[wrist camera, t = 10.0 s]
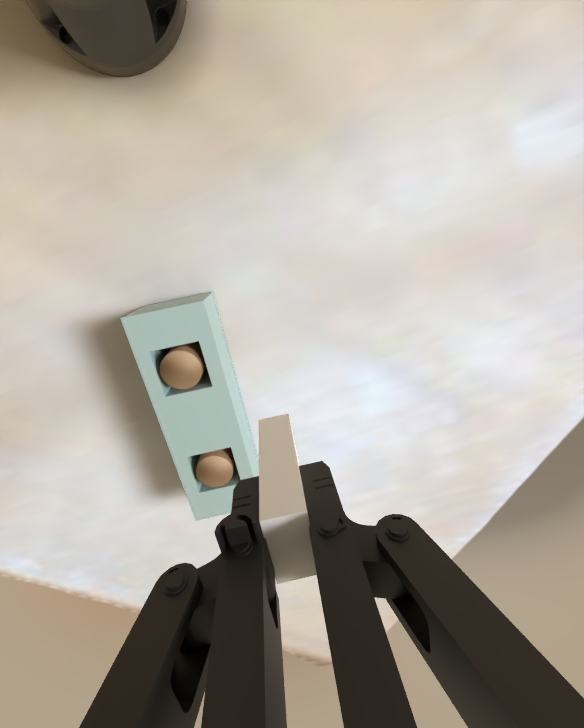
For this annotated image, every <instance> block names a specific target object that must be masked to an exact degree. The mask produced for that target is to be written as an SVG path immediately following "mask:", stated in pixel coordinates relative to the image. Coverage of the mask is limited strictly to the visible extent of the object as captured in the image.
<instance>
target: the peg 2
mask: <svg viewBox="0 0 584 728" xmlns="http://www.w3.org/2000/svg"><path fill="white" fill-rule="evenodd" d="M233 467H234V456H233V453H232V449H231V447H229V448H225V449H221V450H216V451H212V452H207V453H203V454H200V457H199V460H198V464H197V468H196V475H197V478H198V480H199V481H200V482H201V483H203V484H204V485H206V486H210V487H219V486H222V485H225V484H226V483H228V482H229V481H230V479H231V478H232V475H233Z"/></svg>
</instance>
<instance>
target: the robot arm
mask: <svg viewBox="0 0 584 728" xmlns="http://www.w3.org/2000/svg"><path fill="white" fill-rule="evenodd" d="M26 2H27V4H28V5H29V7H30V9H31V10H32V12H33V13H34V15H35V16H36V18H37V19H38V21H39V22H40V23H41V25H42V26H43V27H44V28H45V30H46V31H47V32H48V33H49V34H50V35H51V36H52V37H53V38H54V39H55V40H56V42H57V43H58V44H59V45H60V46H61V47H62V48H63V49H64V50H65V51H66V52H68V53H69V54H70V55H71V56H72V57H74V58H75V59H76V60H78V61H79V62H81V63H82V64H84V65H86V66H87V67H89V68H91V69H93V70H96V71H98V72H101V73H104V74H108V75H114V76H132V75H137V74H140V73H143V72H146V71H148V70H150V69H152V68H154V67H155V66H156V65H158V64H159V63H160V62H161V61H163V60H164V59H165V58H166V57H167V55H168V54H169V53H170V52H171V50H172V49H173V47H174V45H175V44H176V42H177V40H178V38H179V35H180V33H181V30H182V27H183V23H184V18H185V12H186V0H26ZM232 500H233V501H232V509H231V515H228V516H227V517H226V518H224V519H223V520H222V521H221V522H220V523H219V524H218V525H217V527H216V530H215V536H216V538H217V541H218V544H219V547H220V550H221V554H220V555H219V556H218V557H217V558H215V559H214V560H212V561H211V562H209V563H207V564H205V565H204V566H202V567H200V568H198V569H196V568H195V567H194V566H193V565H192V564H188V563H182V564H177V565H175V566H173V567H171V568H169V569H168V570H167V571H166V572H165V573H163V574H162V575H161V576H160V578H159V579H158V581H157V582H156V584H155V585H154V587H153V589H152V591H151V593H150V595H149V597H148V599H147V601H146V602H145V604H144V606H143V608H142V610H141V612H140V614H139V616H138V618H137V620H136V621H135V623H134V625H133V627H132V629H131V631H130V633H129V635H128V636H127V638H126V640H125V643H124V644H123V646H122V648H121V650H120V652H119V654H118V655H117V657H116V659H115V661H114V663H113V665H112V667H111V669H110V671H109V672H108V674H107V676H106V678H105V680H104V682H103V684H102V686H101V687H100V689H99V691H98V693H97V695H96V697H95V699H94V701H93V703H92V705H91V707H90V708H89V710H88V712H87V714H86V716H85V718H84V720H83V721H82V723H81V725H80V727H79V728H194V725H195V722H196V719H197V715H198V712H199V708H200V705H201V702H202V698H203V695H204V692H205V699H204V707H203V717H202V725H201V728H287V723H286V707H285V691H284V675H283V659H282V643H281V627H280V611H279V599H278V596H277V592H276V587H275V578H276V581H277V584H278V583H283V582H287V581H291V580H296V579H300V578H304V577H309V576H313V575H317V578H318V584H319V590H320V595H321V601H322V606H323V612H324V618H325V623H326V629H327V634H328V640H329V646H330V651H331V657H332V662H333V668H334V674H335V679H336V684H337V690H338V696H339V702H340V707H341V713H342V718H343V723H344V728H417V726H416V723H415V720H414V717H413V714H412V711H411V708H410V705H409V702H408V698H407V695H406V692H405V690H404V686H403V683H402V680H401V677H400V674H399V671H398V668H397V665H396V662H395V659H394V656H393V653H392V650H391V647H390V644H389V641H388V638H387V635H386V632H385V629H384V626H383V623H382V620H381V617H380V614H379V611H378V608H377V605H376V602H375V599H374V597H377V598H386V600H387V602H388V603H389V605H390V607H391V608H392V610H393V611H394V613H395V614H396V616H397V617H398V619H399V621H400V622H401V623H402V625H403V627H404V628H405V630H406V631H407V633H408V635H409V636H410V638H411V639H412V641H413V642H414V644H415V645H416V647H417V649H418V650H419V651H420V653H421V655H422V656H423V658H424V659H425V661H426V662H427V664H428V665H429V667H430V669H431V670H432V672H433V673H434V675H435V676H436V678H437V680H438V681H439V683H440V684H441V686H442V687H443V689H444V691H445V692H446V694H447V695H448V697H449V698H450V700H451V701H452V703H453V705H454V706H455V708H456V709H457V711H458V712H459V714H460V715H461V717H462V719H463V720H464V722H465V723H466V725H467V726H468V728H584V698H583V697H582V696H581V695H580V694H579V693H578V692H577V691H576V690H575V689H574V688H573V687H572V686H571V685H570V684H569V683H568V681H567V680H566V679H565V678H564V677H563V676H562V675H561V674H560V673H559V672H558V671H557V670H556V669H555V668H554V667H553V666H552V665H551V664H550V663H549V661H547V659H546V658H545V657H544V656H543V655H542V654H541V653H540V652H539V651H538V650H537V649H536V648H535V647H534V646H533V645H532V644H531V643H530V642H529V640H528V639H527V638H526V637H525V636H524V635H523V634H522V633H521V632H520V631H519V630H518V629H517V628H516V627H515V626H514V625H513V624H512V623H511V622H510V621H509V619H508V618H506V617H505V615H504V614H503V613H502V612H501V611H500V610H499V609H498V608H497V607H496V606H495V605H494V604H493V603H492V602H491V601H490V600H489V599H488V597H486V595H485V594H484V593H483V592H482V591H481V590H480V589H479V588H478V587H477V586H476V585H475V584H474V583H473V582H472V581H471V580H470V579H469V577H468V576H467V575H465V573H464V572H462V570H461V569H460V568H459V567H458V566H457V565H456V564H455V563H454V562H453V561H452V560H451V559H450V558H449V556H448V555H447V554H446V553H445V552H444V551H443V550H442V549H441V548H440V547H439V546H438V545H437V544H436V543H435V542H434V541H433V540H432V539H431V538H430V537H429V535H428V534H427V533H426V532H425V531H424V530H423V529H422V528H421V527H420V526H419V525H418V524H417V523H416V522H415V521H414V520H412V519H411V518H409V517H407V516H404V515H400V514H391V515H388V516H385V517H383V518H382V519H380V520H379V521H378V523H377V525H376V526H367V525H360V524H357V523H355V522H353V521H351V520H350V519H349V518H348V517H347V516H346V515H345V513H344V511H343V508H342V505H341V502H340V499H339V496H338V493H337V490H336V486H335V483H334V480H333V478H332V474H331V471H330V468H329V467H328V466H327V465H326V464H325V463H324V462H323V461H320V462H315V463H311V464H306V465H302V466H300V465H299V460H298V455H297V451H296V446H295V442H294V437H293V432H292V428H291V423H290V419H289V414H285V415H280V416H276V417H271V418H267V419H262V420H259V476H256V477H252V478H247V479H243V480H239V481H238V483H237V485H236V486H235V488H234V490H233V499H232ZM205 688H206V690H205Z"/></svg>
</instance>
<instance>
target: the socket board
mask: <svg viewBox="0 0 584 728" xmlns="http://www.w3.org/2000/svg"><path fill="white" fill-rule="evenodd" d="M120 319H121V322H122V325H123V327H124V330H125V333H126V335H127V338H128V341H129V343H130V346H131V349H132V351H133V354H134V357H135V360H136V362H137V365H138V368H139V370H140V373H141V376H142V378H143V381H144V384H145V386H146V389H147V392H148V394H149V397H150V400H151V402H152V405H153V408H154V410H155V413H156V416H157V418H158V421H159V424H160V426H161V429H162V432H163V434H164V437H165V440H166V442H167V445H168V448H169V450H170V453H171V456H172V458H173V461H174V464H175V466H176V469H177V472H178V474H179V477H180V480H181V482H182V485H183V488H184V491H185V493H186V496H187V499H188V501H189V504H190V507H191V509H192V512H193V515H194V517H195V520H196V521H197V520H201V519H205V518H210V517H214V516H218V515H223V514H227V513H231V509H232V501H233V500H232V499H233V490H234V488H235V486H236V485H237V483H238V481H239V480H243V479H247V478H252V477H256V476H259V460H258V456H257V452H256V449H255V445H254V441H253V438H252V434H251V430H250V427H249V423H248V419H247V416H246V412H245V408H244V405H243V401H242V397H241V394H240V390H239V386H238V383H237V379H236V375H235V372H234V368H233V364H232V361H231V357H230V353H229V350H228V346H227V342H226V338H225V335H224V331H223V327H222V324H221V320H220V316H219V313H218V309H217V305H216V302H215V298H214V294H213V292H208V293H204V294H199V295H194V296H189V297H185V298H180V299H175V300H170V301H166V302H161V303H156V304H151V305H147V306H143V307H141V308H139V309H137V310H135V311H133V312H131V313H129V314H127V315H125V316H124V317H122V318H120ZM197 341H199V343H200V346H201V350H202V353H203V356H204V360H205V363H206V366H207V367H205V369H204V372H203V374H202V376H201V379H200V380H199V382H198V383H197V384H196V385H195V386H193V387H191V388H188V389H176V388H173V387H171V386H170V385H168V384H167V383H166V382H165V381H164V380H163V378H162V376H161V373H160V365H161V362H162V360H163V358H164V357H165V356H166V355H167V354H168V353H169V351H170V350H171V349H172V347H174V346H179V345H183V344H188V343H193V342H197ZM229 447H231V449H232V453H233V456H234V467H233V475H232V478H231V479H230V481H229V482H228V483H226V484H225V485H222V486H219V487H210V486H206V485H204V484H203V483H201V482H200V481H199V480H198V478H197V475H196V468H197V464H198V460H199V457H200V454H203V453H207V452H212V451H216V450H221V449H225V448H229Z"/></svg>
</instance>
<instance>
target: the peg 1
mask: <svg viewBox="0 0 584 728" xmlns="http://www.w3.org/2000/svg"><path fill="white" fill-rule="evenodd" d="M205 367H206V363H205V360H204V356H203V353H202V350H201V346H200V343H199V341H197V342H193V343H188V344H183V345H179V346H174V347H173V348H172V349H171V350H170V351H169V353H168V354H167V355H166V356H165V357H164V358H163V360H162V362H161V365H160V373H161V376H162V378H163V380H164V381H165V382H166V383H167V384H168V385H170V386H171V387H173V388H176V389H188V388H191V387H193V386H195V385H196V384H197V383H198V382H199V380H200V379H201V376H202V374H203V372H204V369H205Z"/></svg>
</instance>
